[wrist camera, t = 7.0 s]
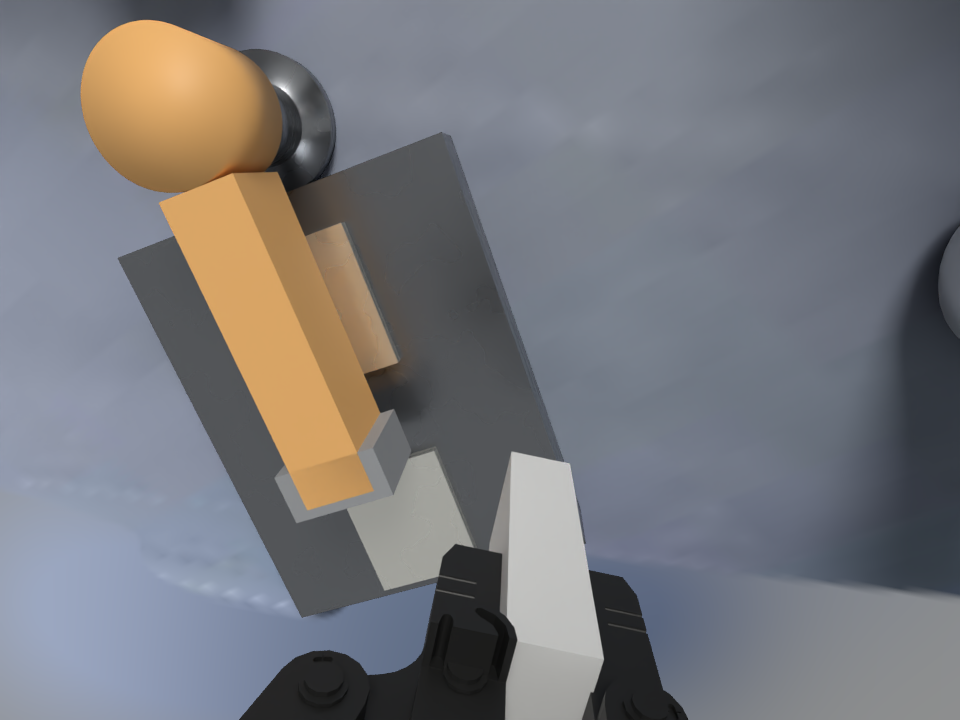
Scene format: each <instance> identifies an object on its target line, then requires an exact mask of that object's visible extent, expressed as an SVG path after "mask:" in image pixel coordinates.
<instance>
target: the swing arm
mask: <svg viewBox="0 0 960 720" xmlns="http://www.w3.org/2000/svg"><path fill="white" fill-rule="evenodd" d="M81 105H82V111H83V116H84V120H85V123H86V126H87V129H88V131H89V134H90V136H91V138H92V140H93V142H94V144H95V145H96V147H97V149H98V150H99V152H100V153H101V154H102V156H103V157H104V158H105V160H106V161H107V162H108V163H109V164H110V165H111V166H112V167H113V168H114V169H115V170H116V171H117V172H118V173H120V174H121V175H122V176H124V177H125V178H127V179H128V180H130V181H131V182H133V183H135V184H137V185H139V186H142V187H144V188H147V189H150V190H154V191H158V192H166V193H177V192H184V193H182V194H179V195H177V196H174V197H172V198H169V199H167V200H164V201H162V202H159V204H160V206H161V209H162V211H163V213H164V215H165V217H166V219H167V221H168V223H169V225H170V227H171V229H172V231H173V233H174V235H175V238H176V240H177V242H178V244H179V246H180V248H181V250H182V252H183V254H184V256H185V258H186V260H187V262H188V265H189V267H190V269H191V271H192V273H193V275H194V277H195V279H196V281H197V283H198V285H199V287H200V289H201V291H202V294H203V296H204V298H205V300H206V302H207V304H208V306H209V308H210V310H211V312H212V314H213V316H214V318H215V320H216V323H217V325H218V327H219V329H220V331H221V333H222V335H223V337H224V339H225V341H226V343H227V345H228V347H229V349H230V352H231V354H232V356H233V358H234V360H235V362H236V364H237V366H238V368H239V370H240V372H241V374H242V376H243V378H244V381H245V383H246V385H247V387H248V389H249V391H250V393H251V395H252V397H253V399H254V401H255V403H256V405H257V407H258V410H259V412H260V414H261V416H262V418H263V420H264V422H265V424H266V426H267V428H268V430H269V432H270V434H271V436H272V439H273V441H274V443H275V445H276V447H277V449H278V451H279V453H280V455H281V457H282V459H283V461H284V463H285V465H284V466H283V468H282V469H281V470H280V471H279V473H278V474H277V475H276V476H275V480H276V482H277V484H278V487H279V489H280V491H281V493H282V495H283V497H284V499H285V501H286V503H287V505H288V507H289V509H290V511H291V513H292V515H293V517H294V519H295V521H296V523H299V522H302V521H306V520H309V519H313V518H316V517H320V516H323V515H327V514H330V513H334V512H337V511H340V510H344V509H347V508H351V507H354V506H358V505H361V504H365V503H368V502H372V501H375V500H379V499H382V498H385V497H389V496H392V495H394V493H395V490H396V488H397V485H398V483H399V480H400V478H401V475H402V473H403V470H404V468H405V465H406V463H407V460H408V458H409V456H410V453H411V448H410V446H409V443H408V441H407V439H406V436H405V434H404V432H403V429H402V427H401V424H400V422H399V420H398V417H397V415H396V412H395V410H394V409H392V410H389V411H386V412H383V413H380V411H379V409H378V407H377V404H376V402H375V400H374V397H373V395H372V392H371V390H370V388H369V385H368V383H367V381H366V378H365V376H364V374H363V371H362V369H361V367H360V364H359V362H358V360H357V357H356V355H355V353H354V350H353V348H352V346H351V343H350V341H349V339H348V336H347V334H346V331H345V329H344V327H343V324H342V322H341V320H340V317H339V315H338V313H337V310H336V308H335V306H334V303H333V301H332V299H331V296H330V294H329V292H328V289H327V287H326V285H325V282H324V280H323V278H322V275H321V273H320V270H319V268H318V266H317V263H316V261H315V259H314V256H313V254H312V252H311V249H310V247H309V245H308V242H307V240H306V238H305V235H304V233H303V231H302V228H301V226H300V224H299V221H298V219H297V217H296V214H295V212H294V209H293V207H292V205H291V202H290V200H289V198H288V195H287V193H286V191H285V188H284V186H283V184H282V181H281V179H280V177H279V174H278V172H265V171H266V170H267V168H268V167H269V166H270V165H271V163H272V162H273V160H274V158H275V156H276V154H277V152H278V149H279V146H280V142H281V137H282V112H281V108H280V103H279V100H278V97H277V94H276V92H275V90H274V88H273V86H272V84H271V82H270V81H269V79H268V77H267V76H266V75H265V73H264V72H263V71H262V70H261V68H260V67H259V66H258V65H257V64H256V63H255V62H254V61H252V60H251V59H250V58H248V57H247V56H246V55H244V54H242V53H241V52H239V51H237V50H235V49H233V48H230V47H228V46H225V45H223V44H220V43H218V42H215V41H213V40H210V39H208V38H205V37H203V36H200V35H198V34H195V33H193V32H190V31H187V30H185V29H182V28H180V27H177V26H175V25H172V24H169V23H165V22H162V21H154V20H139V21H133V22H129V23H126V24H123V25H121V26H119V27H117V28H115V29H113V30H111V31H110V32H109V33H108V34H106V35H105V36H104V37H103V38H102V39H101V40H100V41H99V42H98V43H97V44H96V46H95V47H94V49H93V50H92V52H91V53H90V56H89V58H88V60H87V62H86V65H85V68H84V71H83V76H82V82H81Z"/></svg>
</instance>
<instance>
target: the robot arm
mask: <svg viewBox="0 0 960 720" xmlns="http://www.w3.org/2000/svg"><path fill="white" fill-rule="evenodd" d="M239 720H688V718H687V716H686V714H685V712H684V710H683V708H682V707H681V706H680V705H679V704H678V702H676V700H675V699H674V698H673V697H672V696H671V695H670V694H669V693H667V692H666V691H664V690H663V688H662V685H661V681H660V677H659V674H658V670H657V666H656V663H655V659H654V656H653V652H652V648H651V645H650V641H649V638H648V634H646V627H645V623H644V620H643V618H642V613H641V609H640V605H639V602H638V599H637V595H636V594H635V593H634V591H633V590H632V589H631V588H630V586H629V585H628V584H627V582H626V581H625V580H624V579H623V577H619V576H614V575H609V574H605V573H600V572H595V571H590V570H588V565H587V559H586V553H585V547H584V542H583V536H582V530H581V525H580V519H579V513H578V507H577V502H576V496H575V490H574V484H573V479H572V473H571V467H570V464H569V463H564V462H559V461H555V460H550V459H545V458H540V457H536V456H531V455H526V454H522V453H517V452H512V451H511V455H510V460H509V464H508V468H507V472H506V476H505V481H504V485H503V489H502V493H501V497H500V502H499V506H498V510H497V514H496V518H495V523H494V527H493V531H492V535H491V540H490V544H489V551H487V550H482V549H478V548H473V547H468V546H464V545H459V544H455V545H454V546H453V547H452V548H451V549H450V550H449V551H448V552H447V553H446V554H445V555H444V556H443V557H442V562H441V567H440V571H439V576H438V581H437V585H436V590H435V595H434V600H433V604H432V609H431V614H430V618H429V623H428V628H427V634H426V639H425V643H424V648H423V651H422V653H421V655H420V656H419V657H418V658H417V660H416V661H415V662H413V663H412V664H411V665H409V666H408V667H406V668H404V669H401V670H399V671H396V672H392V673H387V674H379V675H367V674H366V672H365V671H364V669H363V668H362V666H361V665H360V664H359V663H358V662H357V661H355V660H354V659H352V658H350V657H349V656H348V655H346V654H342V653H338V652H334V651H330V650H328V651H312V652H309V653H307V654H304V655H301V656H298V657H296V658H294V659H293V660H292V661H291V662H290V663H288V664H287V665H286V666H285V667H284V668H283V669H281V671H280V672H279V673H278V674H277V675H276V677H275V678H274V679H273V680H272V681H271V683H270V684H269V685H268V686H267V687H266V688H265V690H264V691H263V692H262V693H261V695H260V696H259V697H258V698H257V699H256V700H255V701H254V703H253V704H252V705H251V706H250V707H249V709H248V710H247V711H246V712H245V713H244V714H243V716H242V717H241V718H240V719H239Z"/></svg>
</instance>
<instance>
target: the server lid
mask: <svg viewBox="0 0 960 720" xmlns="http://www.w3.org/2000/svg"><path fill="white" fill-rule="evenodd" d="M286 193H287V195H288V198H289V200H290V202H291V205H292V207H293V209H294V212H295V214H296V217H297V219H298V221H299V224H300V226H301V228H302V231H303V233H304V235H305V238H306V240H307V242H308V245H309V247H310V249H311V252H312V254H313V256H314V259H315V261H316V263H317V266H318V268H319V270H320V273H321V275H322V278H323V280H324V282H325V285H326V287H327V289H328V292H329V294H330V296H331V299H332V301H333V303H334V306H335V308H336V310H337V313H338V315H339V317H340V320H341V322H342V324H343V327H344V329H345V331H346V334H347V336H348V339H349V341H350V343H351V346H352V348H353V350H354V353H355V355H356V357H357V360H358V362H359V364H360V367H361V369H362V371H363V374H364V376H365V378H366V381H367V383H368V385H369V388H370V390H371V392H372V395H373V397H374V400H375V402H376V404H377V407H378V409H379V411H380V413H383V412H386V411H389V410H392V409H394V410H395V412H396V415H397V417H398V420H399V422H400V424H401V427H402V429H403V432H404V434H405V436H406V439H407V441H408V443H409V446H410V448H411V453H410V456H409V458H408V460H407V463H406V465H405V468H404V470H403V473H402V475H401V478H400V480H399V483H398V485H397V488H396V490H395V493H394V495H392V496H389V497H385V498H382V499H379V500H375V501H372V502H368V503H365V504H361V505H358V506H354V507H351V508H347V509H344V510H340V511H337V512H334V513H330V514H327V515H323V516H320V517H316V518H313V519H309V520H306V521H302V522H299V523H296V521H295V519H294V517H293V515H292V513H291V511H290V509H289V507H288V505H287V503H286V501H285V499H284V497H283V495H282V493H281V491H280V489H279V487H278V484H277V482H276V480H275V476H276V475H277V474H278V473H279V471H280V470H281V469H282V468H283V466H284V465H285V463H284V461H283V459H282V457H281V455H280V453H279V451H278V449H277V447H276V445H275V443H274V441H273V439H272V436H271V434H270V432H269V430H268V428H267V426H266V424H265V422H264V420H263V418H262V416H261V414H260V412H259V410H258V407H257V405H256V403H255V401H254V399H253V397H252V395H251V393H250V391H249V389H248V387H247V385H246V383H245V381H244V378H243V376H242V374H241V372H240V370H239V368H238V366H237V364H236V362H235V360H234V358H233V356H232V354H231V352H230V349H229V347H228V345H227V343H226V341H225V339H224V337H223V335H222V333H221V331H220V329H219V327H218V325H217V323H216V320H215V318H214V316H213V314H212V312H211V310H210V308H209V306H208V304H207V302H206V300H205V298H204V296H203V294H202V291H201V289H200V287H199V285H198V283H197V281H196V279H195V277H194V275H193V273H192V271H191V269H190V267H189V265H188V262H187V260H186V258H185V256H184V254H183V252H182V250H181V248H180V246H179V244H178V242H177V240H176V238H175V236H173V237H171V238H168V239H165V240H163V241H160V242H158V243H155V244H153V245H150V246H147V247H145V248H142V249H140V250H137V251H135V252H132V253H129V254H127V255H124V256H122V257H119V258H118V260H119V262H120V264H121V266H122V268H123V270H124V272H125V274H126V275H127V277H128V279H129V281H130V283H131V285H132V287H133V289H134V291H135V293H136V295H137V297H138V299H139V301H140V303H141V305H142V307H143V309H144V311H145V313H146V314H147V316H148V318H149V320H150V322H151V324H152V326H153V328H154V330H155V332H156V334H157V336H158V338H159V340H160V342H161V344H162V346H163V348H164V350H165V352H166V354H167V355H168V357H169V359H170V361H171V363H172V365H173V367H174V369H175V371H176V373H177V375H178V377H179V379H180V381H181V383H182V385H183V387H184V389H185V391H186V393H187V395H188V396H189V398H190V400H191V402H192V404H193V406H194V408H195V410H196V412H197V414H198V416H199V418H200V420H201V422H202V424H203V426H204V428H205V430H206V432H207V434H208V435H209V437H210V439H211V441H212V443H213V445H214V447H215V449H216V451H217V453H218V455H219V457H220V459H221V461H222V463H223V465H224V467H225V469H226V471H227V473H228V475H229V476H230V478H231V480H232V482H233V484H234V486H235V488H236V490H237V492H238V494H239V496H240V498H241V500H242V502H243V504H244V506H245V508H246V510H247V512H248V514H249V515H250V517H251V519H252V521H253V523H254V525H255V527H256V529H257V531H258V533H259V535H260V537H261V539H262V541H263V543H264V545H265V547H266V549H267V551H268V553H269V555H270V556H271V558H272V560H273V562H274V564H275V566H276V568H277V570H278V572H279V574H280V576H281V578H282V580H283V582H284V584H285V586H286V588H287V590H288V592H289V594H290V596H291V597H292V599H293V601H294V603H295V605H296V607H297V609H298V611H299V613H300V615H301V617H306V616H310V615H314V614H318V613H322V612H325V611H329V610H333V609H337V608H341V607H345V606H348V605H352V604H356V603H360V602H364V601H368V600H371V599H375V598H379V597H383V596H387V595H390V594H394V593H398V592H402V591H406V590H410V589H413V588H418V587H421V586H425V585H429V584H433V583H437V581H438V576H439V571H440V567H441V562H442V557H443V556H444V555H445V554H446V553H447V552H448V551H449V550H450V549H451V548H452V547H453V546H454V545H455V544H459V545H464V546H468V547H473V548H478V549H482V550H487V551H489V544H490V540H491V535H492V531H493V527H494V523H495V518H496V514H497V510H498V506H499V502H500V497H501V493H502V489H503V485H504V481H505V476H506V472H507V468H508V464H509V460H510V455H511V451H512V452H517V453H522V454H526V455H531V456H536V457H540V458H545V459H550V460H555V461H559V462H564V460H563V457H562V455H561V452H560V449H559V446H558V443H557V440H556V437H555V434H554V432H553V429H552V426H551V423H550V420H549V417H548V414H547V411H546V409H545V406H544V403H543V400H542V397H541V394H540V391H539V388H538V386H537V383H536V380H535V377H534V374H533V371H532V368H531V365H530V362H529V360H528V357H527V354H526V351H525V348H524V345H523V342H522V339H521V337H520V334H519V331H518V328H517V325H516V322H515V319H514V316H513V314H512V311H511V308H510V305H509V302H508V299H507V296H506V293H505V291H504V288H503V285H502V282H501V279H500V276H499V273H498V270H497V268H496V265H495V262H494V259H493V256H492V253H491V250H490V247H489V245H488V242H487V239H486V236H485V233H484V230H483V227H482V224H481V222H480V219H479V216H478V213H477V210H476V207H475V204H474V201H473V199H472V196H471V193H470V190H469V187H468V184H467V181H466V178H465V175H464V173H463V170H462V167H461V164H460V161H459V158H458V155H457V152H456V150H455V147H454V144H453V141H452V138H451V136H450V135H447V134H445V133H442V132H441V133H438V134H436V135H433V136H431V137H428V138H426V139H423V140H420V141H418V142H415V143H413V144H410V145H407V146H405V147H402V148H400V149H397V150H395V151H392V152H389V153H387V154H384V155H382V156H379V157H377V158H374V159H371V160H369V161H366V162H364V163H361V164H359V165H356V166H353V167H351V168H348V169H346V170H343V171H341V172H338V173H335V174H333V175H330V176H328V177H325V178H323V179H320V180H317V181H315V182H312V183H310V184H307V185H304V186H302V187H299V188H297V189H294V190H292V191H289V192H286ZM575 496H576V495H575ZM576 502H577V507H578V513H579V519H580V525H581V530H582V536H583V542H584V544H586V542H585V535H584V529H583V522H582V516H581V510H580V506H579V503H578V501H577V498H576Z"/></svg>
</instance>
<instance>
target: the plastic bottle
mask: <svg viewBox="0 0 960 720" xmlns="http://www.w3.org/2000/svg"><path fill="white" fill-rule="evenodd" d="M938 293H939V302H940V307H941V310H942V313H943V315H944V318H945V321H946V322H947V324H948V325H949V327H950V328H951V330H952V331H953V333H954V334H955V335H956V336H957V337H958V338H959V339H960V226H959V227H958V229H957V230H956V231H955V233H954V234H953V236H952V237H951V239H950V241H949V243H948V245H947V247H946V249H945V251H944V255H943V258H942V261H941V265H940V271H939V280H938Z"/></svg>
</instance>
